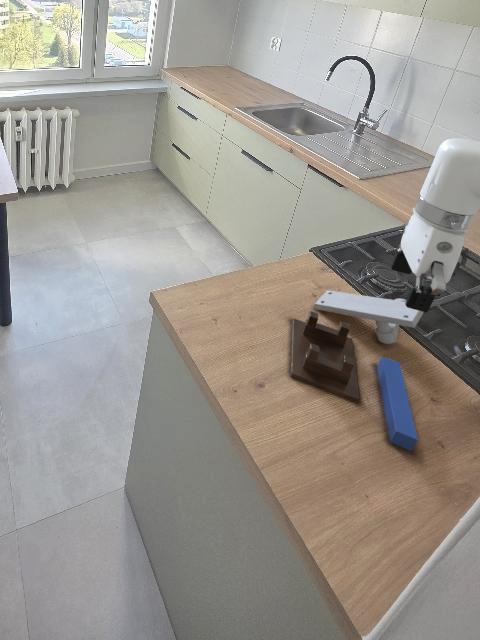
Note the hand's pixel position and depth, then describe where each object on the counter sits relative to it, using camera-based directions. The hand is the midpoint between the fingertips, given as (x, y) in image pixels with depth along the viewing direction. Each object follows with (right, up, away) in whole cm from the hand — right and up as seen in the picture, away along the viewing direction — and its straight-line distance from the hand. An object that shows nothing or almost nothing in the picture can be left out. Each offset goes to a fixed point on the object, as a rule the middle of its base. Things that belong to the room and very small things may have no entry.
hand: (407, 288), depth 76 cm
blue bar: (0, -24, +3) cm, 24 cm away
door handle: (+7, -15, +23) cm, 29 cm away
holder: (-9, -19, +12) cm, 24 cm away
